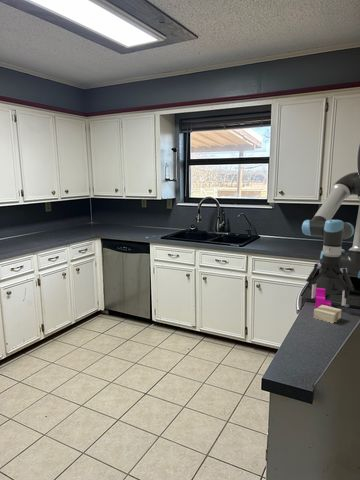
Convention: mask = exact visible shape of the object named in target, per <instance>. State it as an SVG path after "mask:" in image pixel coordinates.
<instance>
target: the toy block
mask: <svg viewBox="0 0 360 480" xmlns="http://www.w3.org/2000/svg"><path fill="white" fill-rule="evenodd" d="M314 305H315V307H314V309H316V308H318V307H319V306H321V305H325V306H329V307H332V301H331V300H327V299H326V294H325V289H322V288H317V290H316V296H315V304H314Z"/></svg>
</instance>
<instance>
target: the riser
mask: <svg viewBox="0 0 360 480" xmlns="http://www.w3.org/2000/svg"><path fill="white" fill-rule="evenodd" d="M313 318H315V319H314V320H317V319H319V320H318V321H321V320H323V321H322V322H325V321H326V323H329V322H330V323H329V324H335V323H337V322H338V321H340V320H341V319H342V309H341V308H336V307H333V306H331V307H329V306H325V305H321V306H319V307H318V308H316V309H315V308H314V309H313ZM340 318H341V319H340ZM339 319H340V320H339ZM337 320H338V321H337ZM334 322H335V323H334Z"/></svg>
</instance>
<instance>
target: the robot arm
mask: <svg viewBox="0 0 360 480" xmlns="http://www.w3.org/2000/svg"><path fill="white" fill-rule="evenodd" d="M358 173H359V172H357V171H356V172H350V173H348V174H346V175H344V176H342V177H341V178H339V179H338V180H337V181H336V182H334V184H333V185H332V186H331V188H330V193H329V194H328V195H327V197H326V199H324V201H323V202H322V205H321V206H320V207H319V208H318V210H317V212H315V214H314V216H313V217H312V219H305V220H304V221H303V222H302V224H301V231H302V233H303V235H305V236H311V237H317V238H318V237H319V238H323V244H322V246H323V247H322V250H321V251H320V255H319V262H317V263H314V265H313V269H312V270H311V272H310V274H309V275H308V277H307V278H306V282H307V283H309V285H310V286H309V290H310V291H311V297H310V298H311V299H314V298H315V299H316V290H317V288H322V289H325V295H326V294H327V295H339V296H340V295H342V296H341V306H346V305H347V304H346V303H347V299H349V296H350V292H352V291H354V290H355V287H354V285H353V283H352V280H351V277H354V278H358V279H360V204H359V205H358V211H357V212H358V213H357V218H356V225H355V228H354V225H353V224H352V223H350V222H344V221H343V220H340V219H333V217H334V216H335V214H336V213H337V211H338V210H339V208H340V207H341V206H342V204H343V202H344V201H345V199H346V200H347V198H349V197H350V196H352V195H353V196H357V198H356V199H358V201H360V178H359V175H358ZM353 235H354V236H353ZM352 236H353V242H352V247H350V248H349V249H348V250H347V251H348V252H346V251H345V249H343V248H342V246H343V241H344V240H348V239H350V238H352ZM318 271H319V273H318V274H317V275H316V273H317V272H318ZM315 275H316V276H315Z"/></svg>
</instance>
